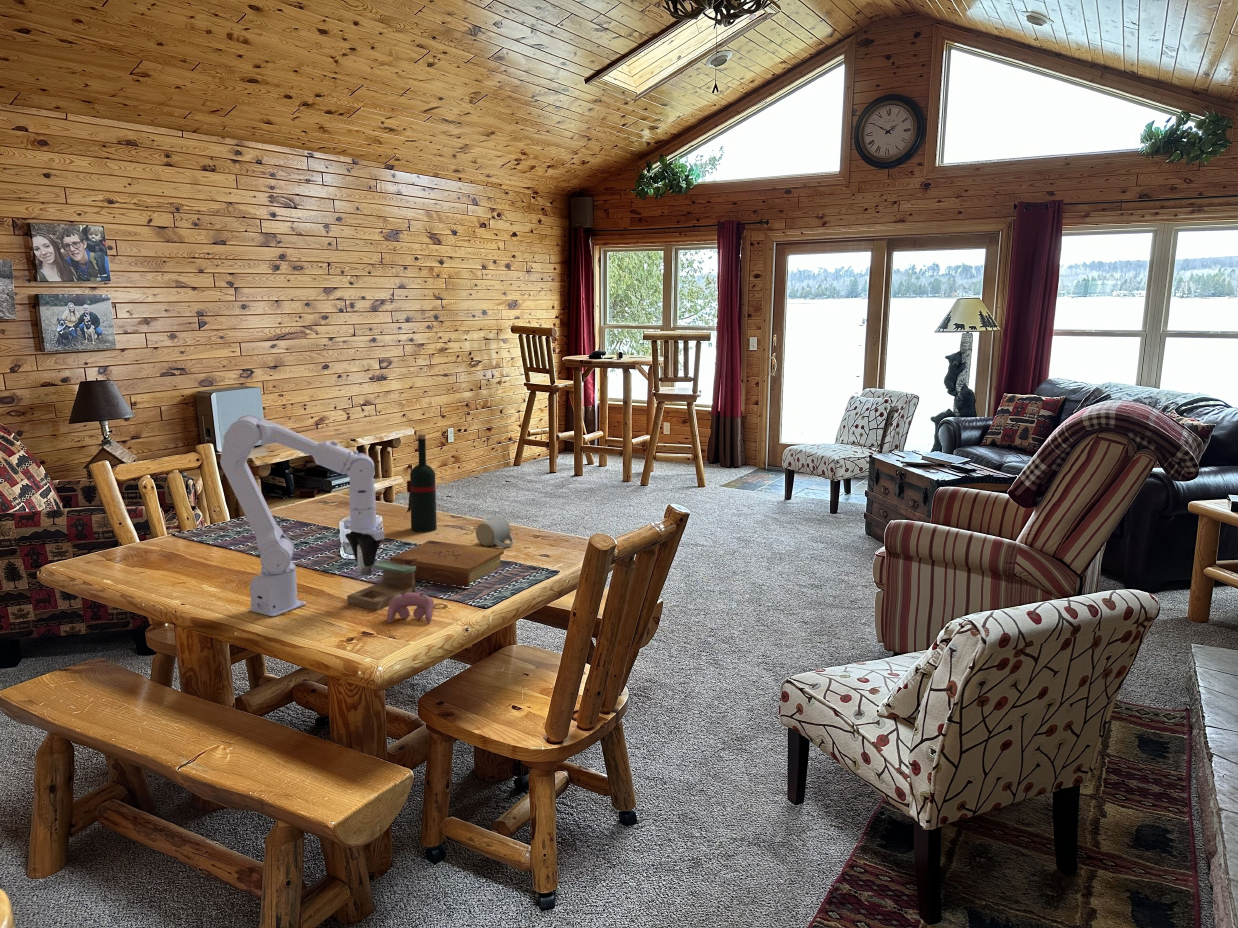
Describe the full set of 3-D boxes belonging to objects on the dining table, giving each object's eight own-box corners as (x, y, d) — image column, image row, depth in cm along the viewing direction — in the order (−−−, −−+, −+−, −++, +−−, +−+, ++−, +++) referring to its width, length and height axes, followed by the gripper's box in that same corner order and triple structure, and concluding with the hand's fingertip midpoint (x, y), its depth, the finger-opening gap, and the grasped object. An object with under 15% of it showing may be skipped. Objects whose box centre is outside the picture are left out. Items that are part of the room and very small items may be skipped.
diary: (389, 579, 208) (388, 558, 207) (430, 560, 225) (429, 540, 224) (468, 591, 200) (467, 568, 199) (504, 570, 218) (503, 549, 217)
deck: (378, 610, 184) (377, 581, 183) (345, 603, 189) (344, 574, 188) (416, 594, 196) (416, 566, 195) (384, 587, 200) (384, 560, 199)
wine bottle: (415, 523, 261) (413, 431, 255) (441, 527, 257) (440, 434, 251) (399, 529, 254) (397, 434, 248) (426, 533, 250) (424, 437, 244)
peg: (373, 573, 189) (372, 544, 188) (361, 575, 188) (359, 546, 186) (368, 570, 192) (367, 541, 190) (356, 572, 190) (354, 543, 189)
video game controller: (434, 625, 181) (436, 593, 183) (430, 623, 177) (432, 590, 179) (389, 624, 181) (392, 593, 183) (384, 622, 176) (387, 590, 178)
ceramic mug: (473, 544, 239) (473, 519, 238) (491, 538, 246) (491, 514, 245) (502, 551, 234) (502, 525, 232) (519, 544, 241) (519, 519, 239)
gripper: (395, 509, 185) (397, 566, 187) (362, 499, 195) (364, 553, 197) (367, 514, 180) (369, 573, 182) (334, 503, 189) (337, 559, 192)
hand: (365, 563), depth 189 cm, fingers closed on peg, 3 cm apart
